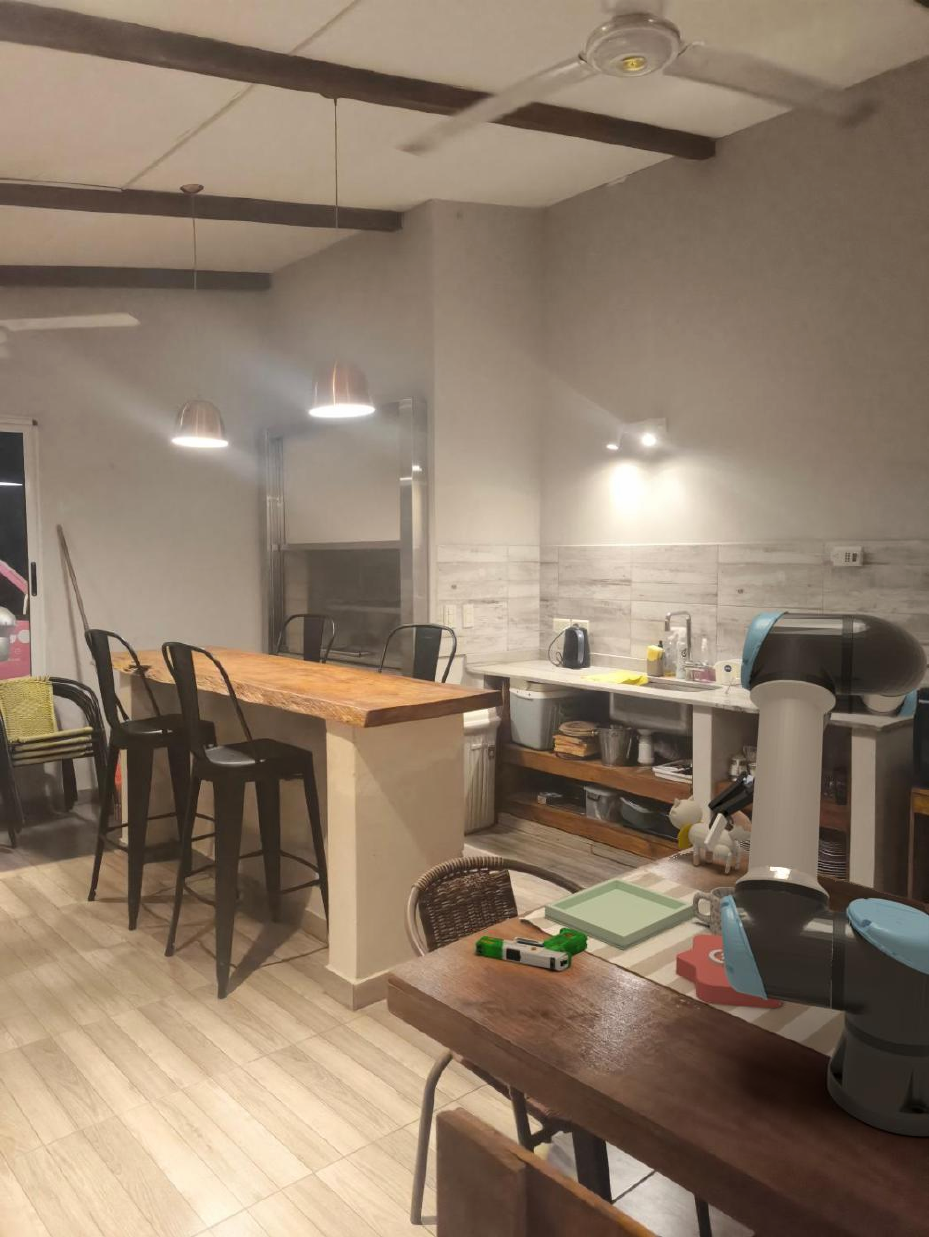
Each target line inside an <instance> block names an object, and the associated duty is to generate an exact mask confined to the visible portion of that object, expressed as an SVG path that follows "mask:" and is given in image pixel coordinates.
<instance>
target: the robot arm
mask: <svg viewBox="0 0 929 1237" xmlns="http://www.w3.org/2000/svg"><path fill="white" fill-rule="evenodd" d="M746 632H747V633H746V635H745V640H744V643H743V644H744V645H743V647H742V648H743V649H742V654H741V655H742V656H741V658H742V660H741V664H740V665H741V666H740V675H739V676H740V685H741V687H742V689H744V690H747V691H749V699H750V701H751V702H752V704H753V705H754V706H755V707H756V708H757V709H759V717H758V732H757V744H756V745H757V746H756V757H755V759H756V760H755V773H754V775H750V774H749V773H747V771H746V770H742V771H740V773H739V775H738V777H737V778H736V780H734V781H733V782H732V783H731V784H730V785H729V786H727V787H725V789H724V790H723V791H721V793H719V794H718V795H717V796H715V797H714V798H713V799H712V800H711V801H710V802H708V804H707V807H708V808H709V809H710V811H711V812H712V814H713V816H712V817H711V820H710V822H709V824H708V825H709V829H710V831H709V833H708V835H707V837H706V840H705V842H704V843H705V845H706V846H707V847H708V849H709V850H710V851H714V849H715V847H716V845H717V843H718V841H719V839H720V836H721V834H722V832H723V830H724V829H725V828H726V827H727V823H728V820H727V819H726V818H729V817H731V815H732V814H734V813H736V812H737V811H739V810H740V811H741V810H742V809H744V808H746V807H749V805H751V804H752V813H751V824H752V825H751V838H749V840H750V842H749V853H748V867H747V868H748V869H747V873H745V874H744V875H743V876H741V877H740V878H739V879H737V880H736V881H735V884H734V888H735V892H734V897H732V895H728V896H725V897H723V898H722V901H721V905H722V906H721V931H722V946H723V957H724V965H725V972H726V977H727V980H728V982H729V984H730V986H731V987H732V988H733V989H734V990H736V991H737V992H740V993H744V994H748V995H753V996H757V997H762V998H763V999H764V1000H768V998H769V999H775V1000H781V1002H788V1003H793V1004H800V1005H804V1006H809V1007H810V1006H811V1007H815V1008H822V1009H825V1010H834V1011H839V1012H844V1024H843V1025H844V1026H843V1029H842V1031H841V1033H840V1036H839V1039H838V1041H837V1043H836V1046H835V1048H834V1050H833V1053H832V1055H831V1057H830V1060H829V1061H828V1067H827V1086H826V1087H827V1090H828V1092H829V1095H830V1097H831V1098H832V1100H833V1101H834V1102H835V1103H836V1104H837V1105H838V1106H839V1108H841V1109H842V1110H843V1111H844V1112H846V1113H847V1114H849V1115H850V1116H852V1117H853V1118H856V1119H857V1120H859V1121H861V1122H863V1123H865V1124H868V1125H869V1126H872V1127H874V1128H877V1129H879V1130H883V1131H886V1132H890V1133H893V1134H898V1135H899V1134H900V1135H904V1136H912V1137H929V915H928V914H927V913H926V912H924V911H921V910H919V909H917V908H914V907H912V906H910V905H906V904H903V903H900V902H897V901H893V900H889V899H883V898H873V897H868V898H867V899H865V898H857V899H855V900H852V901H851V902H850V903H849V905H848V906H847V907H846V910H845V911H838V910H833V909H830V895H829V893H828V892H827V890H825V888H824V887H822V886H821V884H820V883H819V881H818V871H819V870H818V866H819V843H820V842H819V840H820V817H821V815H820V814H821V792H822V789H821V788H822V761H823V760H822V759H823V740H824V739H823V737H824V735H823V734H824V732H825V729H826V727H827V725H828V724H829V721H831V718H832V716H833V714H842V715H843V714H845V715H846V714H847V715H864V716H877V717H890V718H894V719H895V718H911V717H913V716H914V715H915V714H916V709H917V695H918V692H917V691H918V690H917V688H918V687H919V685H920V684H921V683H922V681H923V680H924V678H925V676H926V672H927V668H928V658H927V655H926V651H925V649H924V648H923V646H922V644H921V643H920V641H919V640H918V639H917V638H916V637H915V636H914V635H913V634H912V633H911V632H910V631H908V630H906V629H904V628H903V627H901V626H900V625H898V624H897V623H894V622H891V621H889V620H887V619H885V618H881V617H878V616H874V615H871V614H870V615H869V614H861V613H853V614H852V613H848V614H847V613H821V612H820V613H817V612H816V613H814V612H813V613H812V612H807V613H805V612H789V611H787V610H785V611H783V610H782V611H780V612H762V613H759V614H757V615H755V617H753V619H752V620H751V622H750V623H749V626H748V628H747V631H746Z"/></svg>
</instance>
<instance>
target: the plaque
mask: <svg viewBox="0 0 929 1237" xmlns="http://www.w3.org/2000/svg"><path fill="white" fill-rule="evenodd" d="M675 961H676V967H675V968H676V969H675V973H676V974H677V975H678V976H680V977H681V978H682V977H683V979H686V980H688V981H689V982H691V983H693V984H695V985H694V986H695V994H696V998H698V999H699V1000H700V1001H702V1002H705V1003H709V1004H719V1005H726V1006H727V1005H731V1006H740V1007H749V1008H750V1007H751V1008H754V1007H755V1008H763V1009H776V1008H778V1007H780V1006H781V1004H782V1001H781V1000H775V999H769V998H768V1000H764V999H763V998H762V997H757V996H753V995H748V994H744V993H740V992H737V991H736V990H734V989H733V988H732V987H731V986H730V984H729V982H728V980H727V977H726V972H725V965H724V957H723V946H722V936H720V935H714V934H706V933H705V934H704V933H701V934H696V935H694V936H693V937H692V948H690V949H687V950H685V951H682V952H680V953H677V954H676V960H675Z"/></svg>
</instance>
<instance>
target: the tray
mask: <svg viewBox="0 0 929 1237" xmlns="http://www.w3.org/2000/svg"><path fill="white" fill-rule="evenodd" d="M544 918H545V919H547V920H550V921H552V922H555V923H557V924H560V925H562V926H564V927H566V928H568V929H572V930H576V931H579V932H583V933H585V934H586V935H587V936H589V937H592V938H594V939H597V940H599V941H600V942H603V943H605V944H608V945H610V946H613V947H616V948H618V949H620V950H622V951H625V950H627V949H630V948H631V947H634V946H636V945H637V944H640V943H642V942H644V941H646V940H648V939H651V938H653V937H655V936H656V935H657V936H658V935H659V934H661V933H663V932H665V931H667V930H669V929H671V928H673V927H676V926H677V925H680V924H682V923H684V922H686V921H688V920H690V919H692V918H695V917H694V913H693V902H692V903H691V902H689V901H685V900H683V899H680V898H677V897H674V896H673V895H672V896H671V895H668V894H665V893H662V892H659V891H656V890H654V889H651V888H648V887H645V886H642V885H639V884H636V883H633V882H630V881H627V880H624V879H621V878H618V877H613V878H610V879H608V880H606V881H603V882H601V883H598V884H595V885H593V886H591V887H588V888H585V889H583V890H580V891H577V892H575V893H573V894H570V895H568V896H565V897H562V898H560V899H557V900H555V901H551V902H550V903H548V904H544Z"/></svg>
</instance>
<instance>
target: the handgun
mask: <svg viewBox="0 0 929 1237" xmlns="http://www.w3.org/2000/svg"><path fill="white" fill-rule="evenodd" d="M587 941H588V935H586V934H585V933H583V932H579V931H576V930H574V929H572V928H569V927H566V926H564V927H562V928H560V929H559V933H558V934H555V935H553V936H552V937H549V938H547V939H545V940H542V941H540V940H536V939H532V938H528V937H527V938H526V937H520V936H515V937H514V939H513V940H510V939H509V940H508V939H502V938H497V937H492V936H486V935H483V936H482V937H481V938H480V939H478V940H477V941H476V942H475V954H476V955H478V956H483V957H489V958H493V959H498V960H503V961H509V962H514V963H518V964H524V965H528V966H534V967H540V968H546V969H551V970H555V971H558V972H563V971H565V970H567V969H569V968H570V966H571V965H572V956H574V955H577V954H578V953H582V952H583V951H584V950H585V949H587V948H588V942H587Z"/></svg>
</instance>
